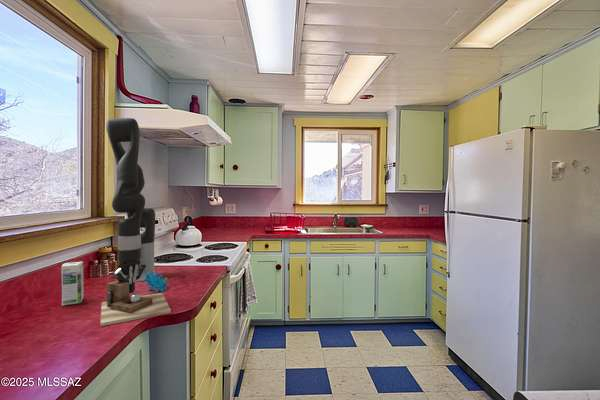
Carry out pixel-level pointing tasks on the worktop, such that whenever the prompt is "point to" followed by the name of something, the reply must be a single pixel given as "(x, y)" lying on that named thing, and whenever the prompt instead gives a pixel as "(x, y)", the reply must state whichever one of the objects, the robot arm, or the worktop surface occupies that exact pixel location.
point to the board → (154, 309)
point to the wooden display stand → (125, 298)
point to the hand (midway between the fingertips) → (130, 292)
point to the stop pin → (109, 298)
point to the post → (134, 298)
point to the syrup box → (72, 283)
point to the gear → (156, 282)
